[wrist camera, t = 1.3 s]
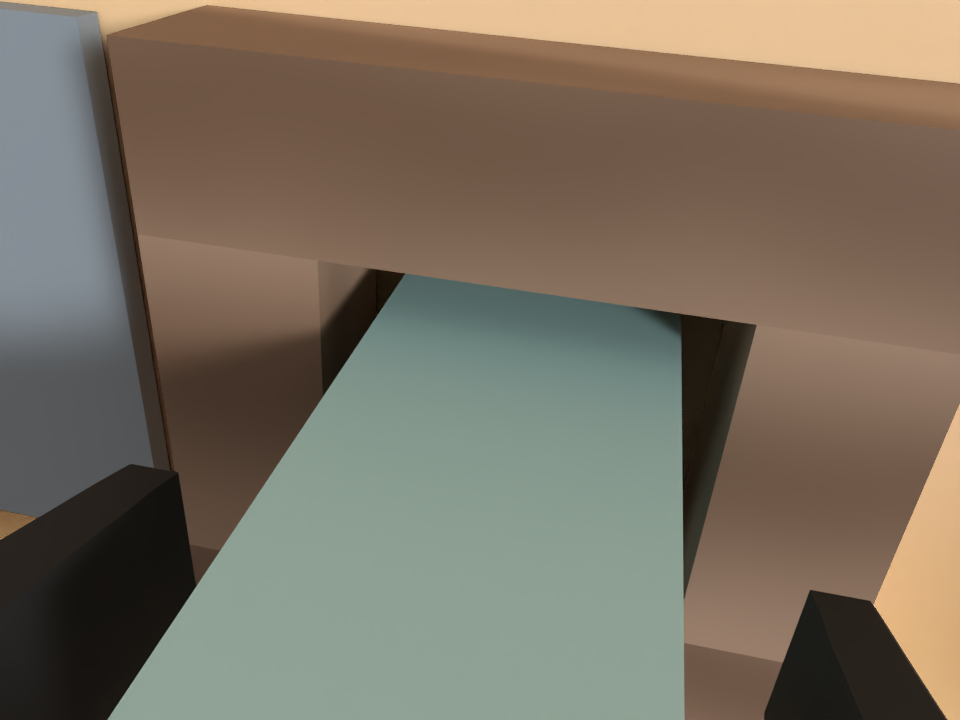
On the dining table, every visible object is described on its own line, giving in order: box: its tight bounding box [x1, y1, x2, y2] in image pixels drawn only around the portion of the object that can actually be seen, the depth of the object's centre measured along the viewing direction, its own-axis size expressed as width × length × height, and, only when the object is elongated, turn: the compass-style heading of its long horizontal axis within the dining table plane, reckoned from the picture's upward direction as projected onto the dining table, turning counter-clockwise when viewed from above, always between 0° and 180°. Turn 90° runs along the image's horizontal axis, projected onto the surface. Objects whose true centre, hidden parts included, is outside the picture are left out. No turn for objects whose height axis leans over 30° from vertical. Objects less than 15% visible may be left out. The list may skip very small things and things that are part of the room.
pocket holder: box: [106, 5, 960, 720], centre depth 13 cm, size 10×10×2 cm
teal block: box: [108, 273, 685, 720], centre depth 10 cm, size 4×4×9 cm
